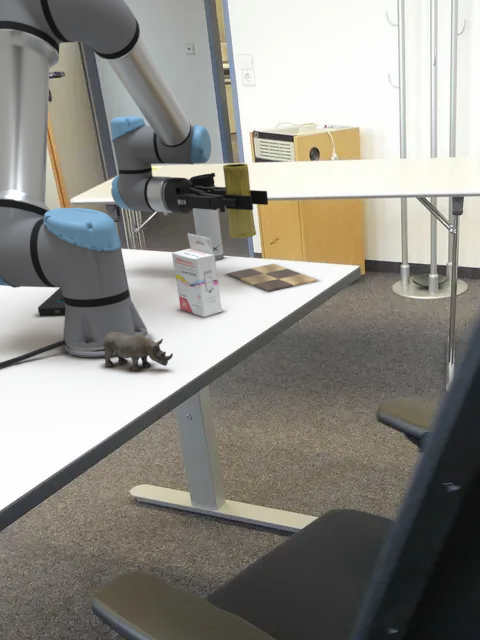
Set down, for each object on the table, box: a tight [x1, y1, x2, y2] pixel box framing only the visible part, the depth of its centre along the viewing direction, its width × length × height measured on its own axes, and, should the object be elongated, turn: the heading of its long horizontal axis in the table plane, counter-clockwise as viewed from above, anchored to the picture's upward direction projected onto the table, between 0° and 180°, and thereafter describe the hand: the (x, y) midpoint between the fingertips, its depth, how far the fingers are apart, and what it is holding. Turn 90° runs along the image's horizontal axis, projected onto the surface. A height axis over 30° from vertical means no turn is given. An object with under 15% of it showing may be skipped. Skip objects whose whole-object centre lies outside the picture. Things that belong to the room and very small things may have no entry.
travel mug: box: [188, 172, 224, 261], centre depth 192 cm, size 6×7×20 cm
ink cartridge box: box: [171, 232, 223, 318], centre depth 155 cm, size 9×5×15 cm, turn 47°
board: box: [227, 263, 318, 293], centre depth 179 cm, size 13×20×1 cm, turn 36°
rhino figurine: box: [103, 332, 174, 371], centre depth 131 cm, size 4×14×6 cm, turn 69°
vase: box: [222, 162, 257, 239], centre depth 167 cm, size 6×6×14 cm
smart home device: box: [37, 288, 66, 317], centre depth 167 cm, size 8×2×20 cm
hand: (259, 200), depth 164 cm, fingers closed on vase, 5 cm apart
